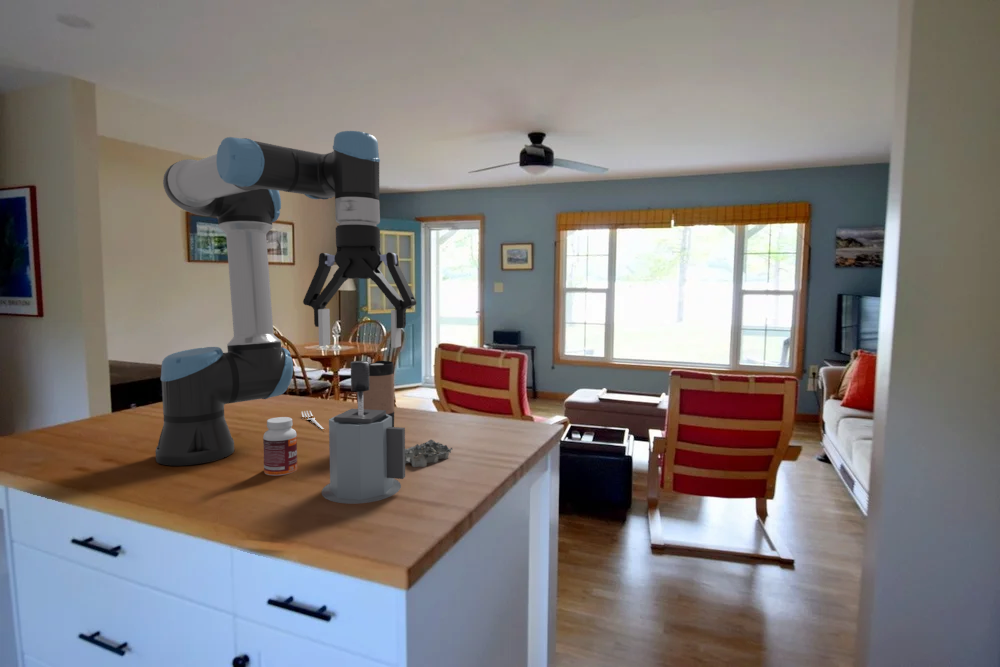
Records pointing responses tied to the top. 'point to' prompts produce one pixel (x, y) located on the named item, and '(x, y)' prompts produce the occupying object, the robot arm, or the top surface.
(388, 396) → the travel mug
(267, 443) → the pill bottle
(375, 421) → the carafe
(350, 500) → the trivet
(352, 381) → the plunger
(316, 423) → the fork
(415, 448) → the egg carton
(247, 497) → the top surface
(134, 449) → the top surface
